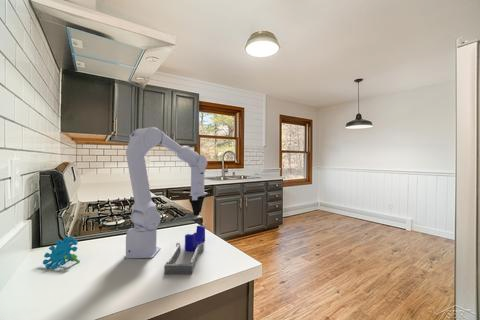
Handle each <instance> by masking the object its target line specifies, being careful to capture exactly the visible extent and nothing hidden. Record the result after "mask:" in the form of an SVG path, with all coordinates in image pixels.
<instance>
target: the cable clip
mask: <svg viewBox="0 0 480 320" xmlns="http://www.w3.org/2000/svg"><path fill="white" fill-rule="evenodd" d="M205 241H206V226H205V225H197V226H196V230H195V232H193V233H192V234H189V233H187V234H185V235H184V252H186V253H194V252H195V250H196V247H197V245H199V244H200V243H205Z"/></svg>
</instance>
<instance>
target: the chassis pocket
mask: <svg viewBox="0 0 480 320" xmlns="http://www.w3.org/2000/svg"><path fill="white" fill-rule="evenodd" d="M204 244H205V242H203V243H200V244H199V245H197V247H196V250H195V251H194V252H193V254H192V257H191V259H190V262H189V263H175V262H176V261H177V259H178V257H179V256H180V254H181V252H182V251H181V246H182V245H181V243H180V242H176V244H175V249H174V250H173V252H172V253H171V254H170V256H169V257H168V259H167V261H166V262H165V264H164V265H163V266H164V268H163V269H164V271H163V272H164V275H192V274H193V273H194V270H195V268H196V265H197V262H198V259H199V257H200V253H202V252H203V251H204V249H205V247H204V246H205V245H204Z"/></svg>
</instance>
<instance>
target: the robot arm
mask: <svg viewBox="0 0 480 320" xmlns="http://www.w3.org/2000/svg"><path fill="white" fill-rule="evenodd" d="M158 145H159V146H162V147H164V148H166V149H168V150H170V151H171V152H173V153H175V154H176V157H177V158H178V159H179V160H181V161H183V162H185V163H186V164H188V167H189V168H190V196H191V198H189V200H188V201H189V203H190V205H191V210H192V213H193V216H200V213H202V209H203V204H204V201H205V199H206V195H207V194H208V192H205V172H206V167H207V166H208V160H207V157H206V156H205V155H203V154H199V152H198V151H194V149H191V146H190V145H182V146H181V145H180V144H179V143H177V142H176V141H175V140H173V139H172V138H171V137H170V136H168V135H167V134H166V133H165V132H164V131H162V130H160V129H159V128H157V127H155V126H150V127H146V128H145V127H144V128H136V129H135V130H133V132H131V133H130V134H129V141H128V144H127V148H126V150H125V157H126V162H127V168H128V172H129V173H128V174H129V178H130V182H131V190H132V194H133V195H132V196H133V201H134V202H133V204H132V206H131V214H130V220H131V223H132V224H133V225H134V226H133V227H131V228H129V229H127V232H126V236H125V255H124V259H153V258H154V257H155V256H156V255H157V254H158V252H159V251H160V249H161V247H160V246H159V247H157V233H158V232H157V230H158V226H159V225H160V223H161V219H162V218H161V214H160V212H159V211H158V210H157V209H158V208H157V205H156V204H155V203H154V201H153V200H152V194H151V190H150V182H149V176H148V169H147V164H146V159H145V156H146V155H147V153H148V152H149V151H150V150H151V149H153V148H154V147H156V146H158Z"/></svg>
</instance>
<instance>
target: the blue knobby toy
mask: <svg viewBox="0 0 480 320" xmlns="http://www.w3.org/2000/svg"><path fill="white" fill-rule="evenodd" d="M55 244H56V246H54V245H53V244H52V245H51V246H49V248H48V249H49V250H50V251H51V253H49V252H45V253H44V255H43V258H46V259H44V260H42V265H44V266H45V268H46V269H48V270H49V269H51V268H52V269H54V270H55V269H57V268H58V267H59V266H64V265H65V264H66V262H67V261H70V262H76V263H80V262H81V260H79V259H78V255H76V254H75V253H76V252H77V250H78V247H77V246H78V240H77V239H75V238H74V237H73V236H71V237H67V236H65V237H64V238H63V239H62V240H61V239H59V240H56V242H55ZM71 251H73V252H74V253H71ZM47 258H49V259H47ZM66 260H67V261H66Z"/></svg>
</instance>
